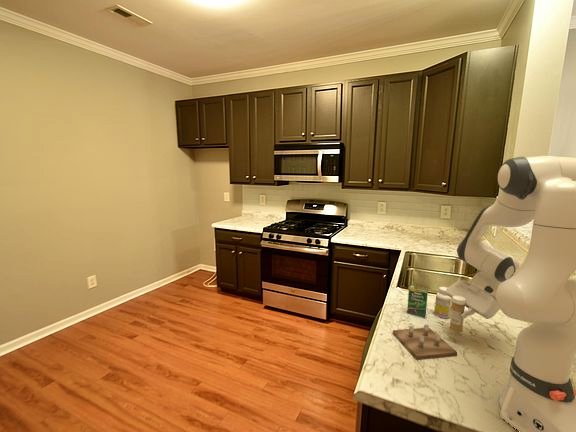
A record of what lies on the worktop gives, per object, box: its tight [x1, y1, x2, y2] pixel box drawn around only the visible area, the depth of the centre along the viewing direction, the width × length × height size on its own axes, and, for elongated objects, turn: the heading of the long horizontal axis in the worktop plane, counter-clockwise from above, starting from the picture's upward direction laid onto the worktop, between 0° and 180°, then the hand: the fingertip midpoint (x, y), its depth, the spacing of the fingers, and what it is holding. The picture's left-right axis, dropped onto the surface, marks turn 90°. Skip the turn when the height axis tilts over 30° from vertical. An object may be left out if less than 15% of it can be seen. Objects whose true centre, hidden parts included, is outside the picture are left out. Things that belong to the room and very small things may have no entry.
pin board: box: [392, 324, 458, 361], centre depth 107 cm, size 16×16×6 cm
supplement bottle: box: [434, 286, 452, 319], centre depth 128 cm, size 7×7×13 cm
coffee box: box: [406, 285, 429, 318], centre depth 128 cm, size 8×3×13 cm, turn 57°
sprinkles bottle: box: [448, 296, 466, 334], centre depth 108 cm, size 5×5×14 cm
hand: (456, 313), depth 108 cm, fingers closed on sprinkles bottle, 4 cm apart
